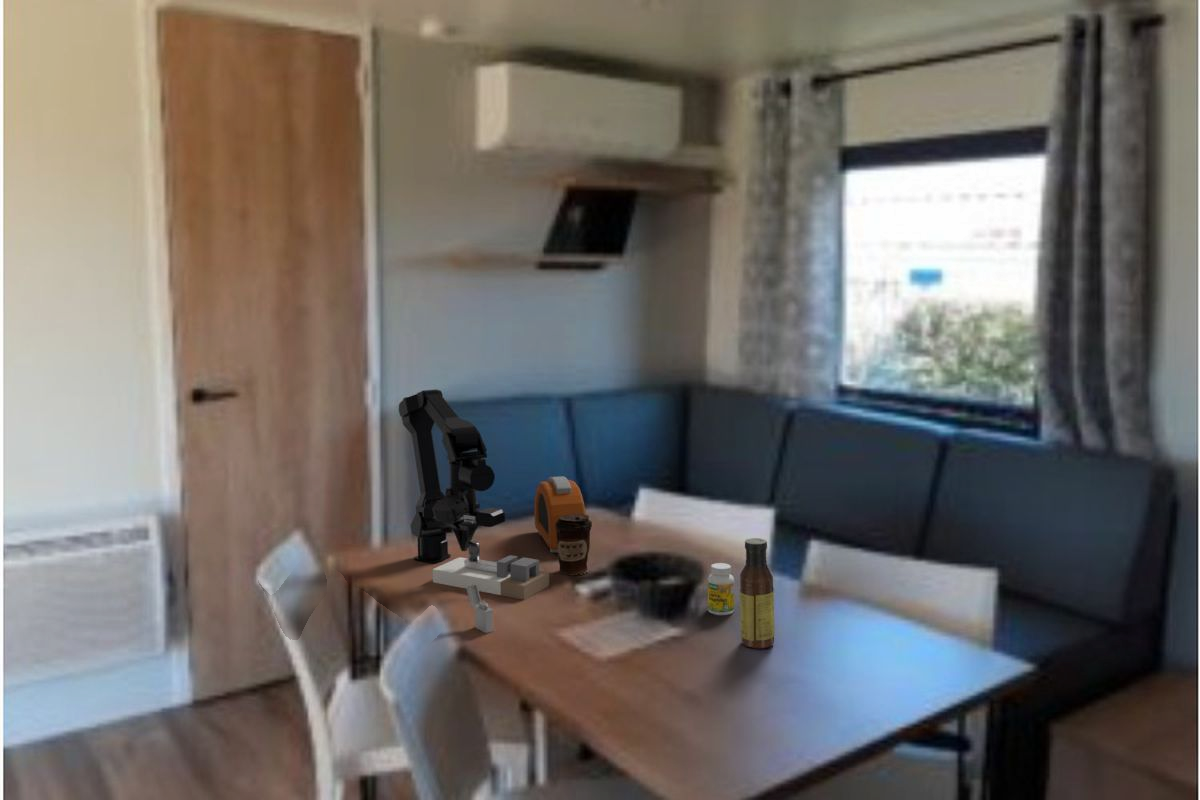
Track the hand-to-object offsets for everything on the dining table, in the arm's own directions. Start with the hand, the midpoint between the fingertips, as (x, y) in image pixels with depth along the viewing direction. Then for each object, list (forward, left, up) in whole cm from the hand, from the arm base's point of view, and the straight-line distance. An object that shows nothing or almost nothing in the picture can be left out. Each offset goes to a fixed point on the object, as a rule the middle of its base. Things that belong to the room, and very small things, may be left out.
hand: (464, 550), depth 224 cm
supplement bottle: (+58, +8, -7) cm, 59 cm away
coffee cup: (+19, +16, -7) cm, 26 cm away
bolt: (+6, 0, -3) cm, 7 cm away
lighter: (+20, -22, -7) cm, 30 cm away
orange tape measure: (+4, +35, -7) cm, 36 cm away
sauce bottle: (+70, -5, -7) cm, 71 cm away
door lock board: (+7, 0, -7) cm, 10 cm away
